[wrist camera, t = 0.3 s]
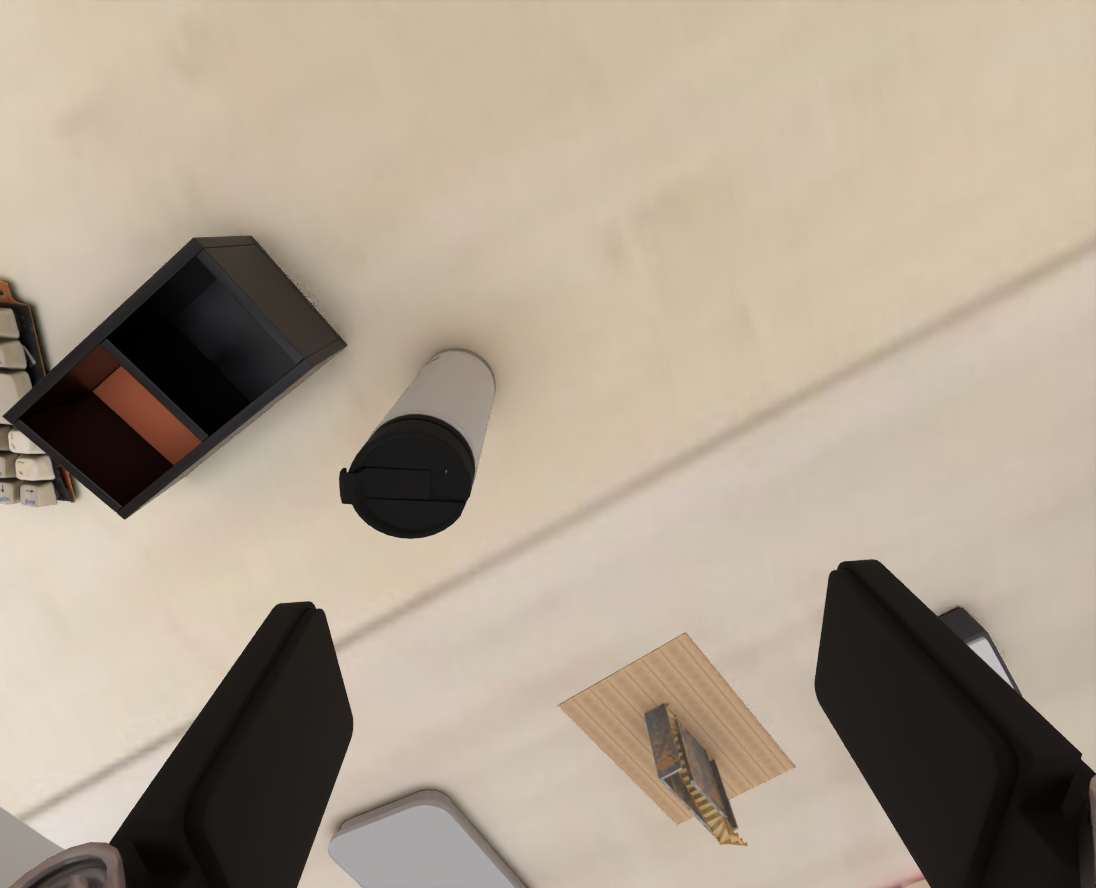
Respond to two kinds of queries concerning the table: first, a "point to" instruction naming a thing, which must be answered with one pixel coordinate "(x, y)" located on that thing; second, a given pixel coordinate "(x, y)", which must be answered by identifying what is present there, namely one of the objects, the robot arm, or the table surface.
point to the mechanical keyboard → (3, 379)
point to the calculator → (978, 641)
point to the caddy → (176, 372)
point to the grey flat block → (418, 847)
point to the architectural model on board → (680, 735)
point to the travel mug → (424, 450)
